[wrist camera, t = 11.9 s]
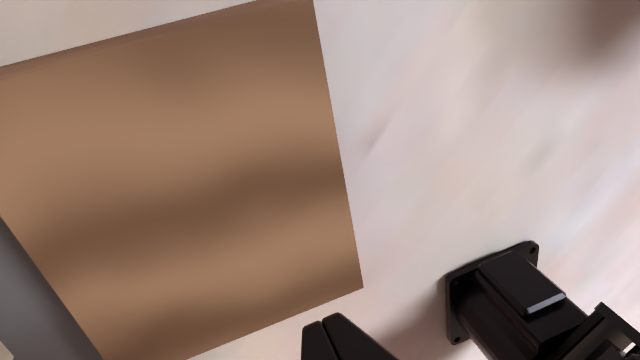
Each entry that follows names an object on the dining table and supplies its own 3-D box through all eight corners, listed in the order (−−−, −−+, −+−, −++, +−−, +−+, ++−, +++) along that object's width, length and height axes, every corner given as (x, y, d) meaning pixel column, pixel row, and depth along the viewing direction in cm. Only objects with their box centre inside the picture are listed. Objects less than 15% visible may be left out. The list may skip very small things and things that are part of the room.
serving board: (348, 262, 24) (363, 287, 23) (123, 350, 22) (122, 385, 20) (295, -10, 17) (312, -3, 15) (-57, 81, 14) (-82, 102, 13)
